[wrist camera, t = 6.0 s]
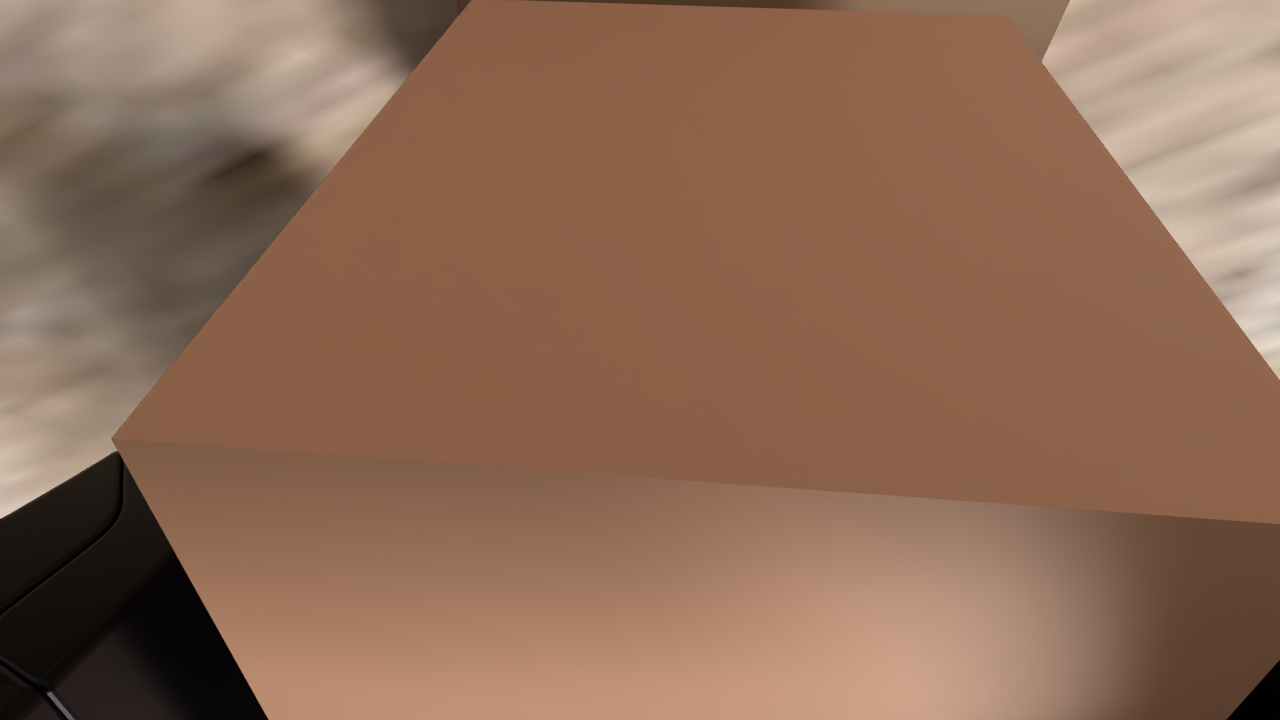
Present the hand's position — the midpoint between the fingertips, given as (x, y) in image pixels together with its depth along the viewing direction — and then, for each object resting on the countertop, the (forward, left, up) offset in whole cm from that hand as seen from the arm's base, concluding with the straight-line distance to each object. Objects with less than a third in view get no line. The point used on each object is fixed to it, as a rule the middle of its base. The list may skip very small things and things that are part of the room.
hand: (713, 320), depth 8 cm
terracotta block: (0, 0, -2) cm, 2 cm away
